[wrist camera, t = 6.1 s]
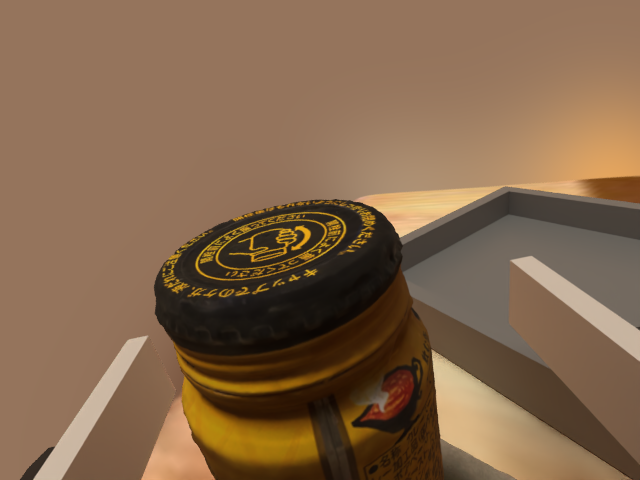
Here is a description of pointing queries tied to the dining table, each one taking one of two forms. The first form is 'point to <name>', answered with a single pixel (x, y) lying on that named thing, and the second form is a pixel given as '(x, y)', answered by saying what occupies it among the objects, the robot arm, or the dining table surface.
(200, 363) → the condiment
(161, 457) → the dining table surface
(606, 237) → the tray
